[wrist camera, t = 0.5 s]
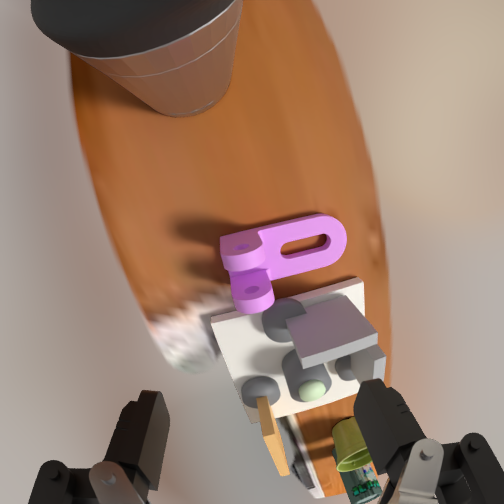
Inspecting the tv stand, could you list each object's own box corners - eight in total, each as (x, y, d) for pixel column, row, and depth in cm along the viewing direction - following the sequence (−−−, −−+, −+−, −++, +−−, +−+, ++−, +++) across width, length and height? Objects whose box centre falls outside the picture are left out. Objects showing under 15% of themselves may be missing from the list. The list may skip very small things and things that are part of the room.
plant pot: (377, 413, 43) (395, 444, 34) (345, 440, 45) (358, 471, 36) (348, 406, 40) (365, 443, 32) (313, 436, 42) (325, 472, 34)
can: (363, 439, 46) (388, 490, 32) (347, 453, 47) (367, 503, 33) (343, 439, 44) (367, 495, 30) (326, 454, 46) (346, 508, 32)
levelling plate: (208, 309, 31) (205, 365, 22) (360, 268, 31) (404, 306, 22) (250, 416, 38) (257, 465, 29) (361, 383, 38) (386, 425, 29)
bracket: (232, 284, 30) (236, 317, 24) (219, 236, 29) (220, 259, 22) (343, 255, 31) (372, 280, 24) (338, 208, 29) (369, 223, 22)
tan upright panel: (236, 381, 33) (242, 429, 25) (274, 372, 33) (287, 419, 26) (262, 441, 38) (269, 478, 31) (291, 434, 38) (301, 471, 31)
